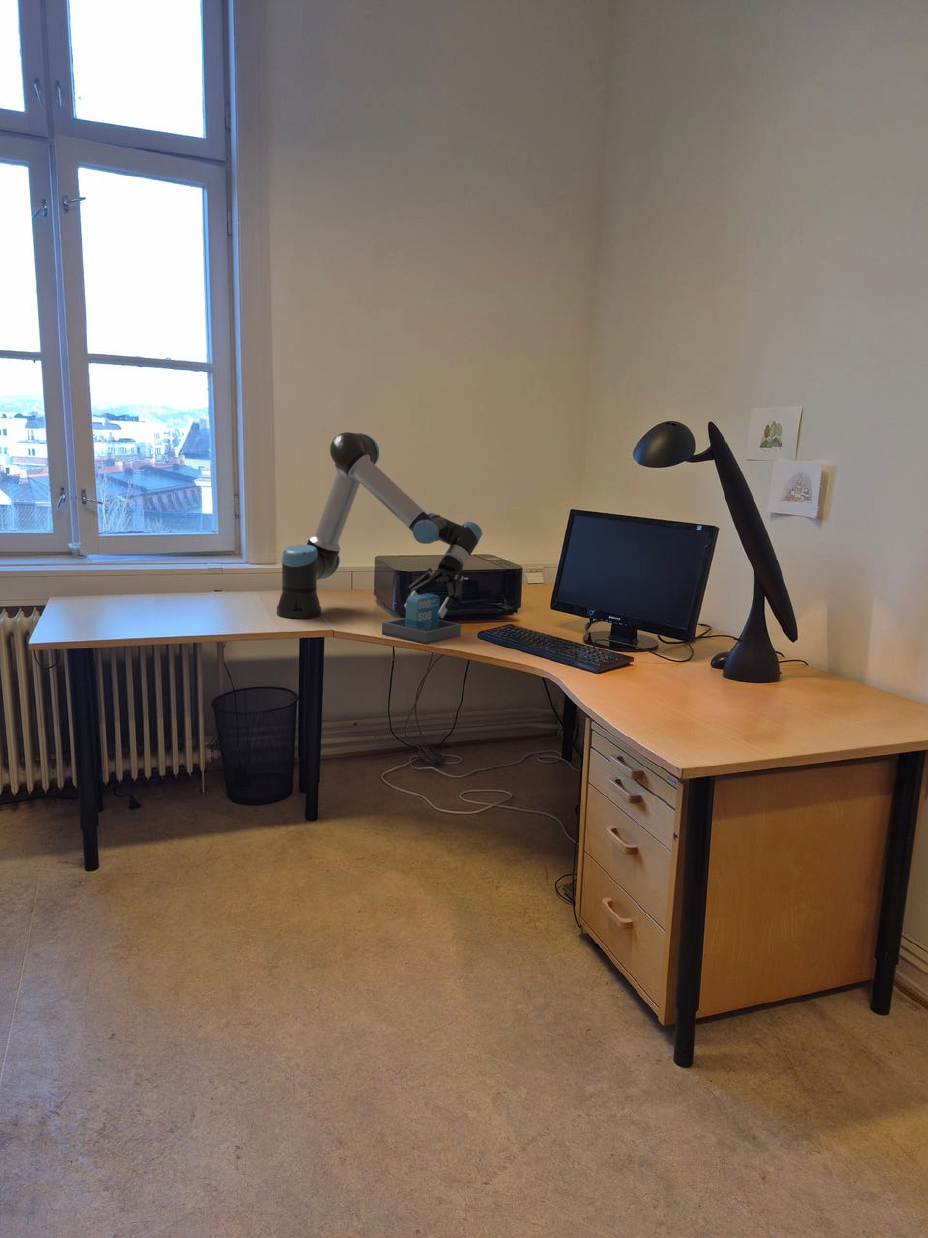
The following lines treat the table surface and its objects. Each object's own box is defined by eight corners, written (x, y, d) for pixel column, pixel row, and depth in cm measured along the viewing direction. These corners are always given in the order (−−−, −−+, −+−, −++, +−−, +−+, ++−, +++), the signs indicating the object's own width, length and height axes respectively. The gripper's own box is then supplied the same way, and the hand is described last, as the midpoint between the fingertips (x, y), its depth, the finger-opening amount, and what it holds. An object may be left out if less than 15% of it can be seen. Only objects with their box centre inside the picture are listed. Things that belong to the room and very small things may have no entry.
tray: (381, 634, 242) (382, 622, 241) (417, 626, 256) (417, 615, 255) (426, 644, 232) (426, 632, 231) (460, 635, 246) (461, 624, 245)
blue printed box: (415, 636, 238) (417, 599, 235) (404, 633, 240) (406, 596, 238) (438, 630, 248) (440, 594, 245) (427, 628, 250) (429, 592, 248)
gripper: (488, 574, 247) (459, 625, 238) (428, 564, 261) (398, 612, 252) (480, 559, 242) (450, 611, 233) (419, 549, 256) (388, 598, 247)
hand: (422, 612), depth 243 cm, fingers open, 13 cm apart
